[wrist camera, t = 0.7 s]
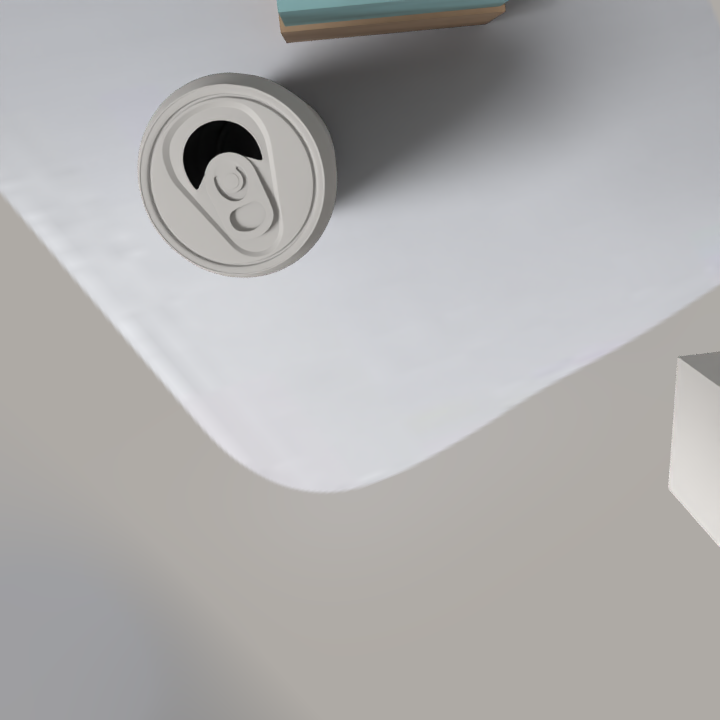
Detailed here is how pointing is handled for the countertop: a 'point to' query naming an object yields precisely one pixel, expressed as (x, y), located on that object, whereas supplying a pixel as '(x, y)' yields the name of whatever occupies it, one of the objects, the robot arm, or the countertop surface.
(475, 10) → the teal and brown block
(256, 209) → the beverage can
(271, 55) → the countertop surface
